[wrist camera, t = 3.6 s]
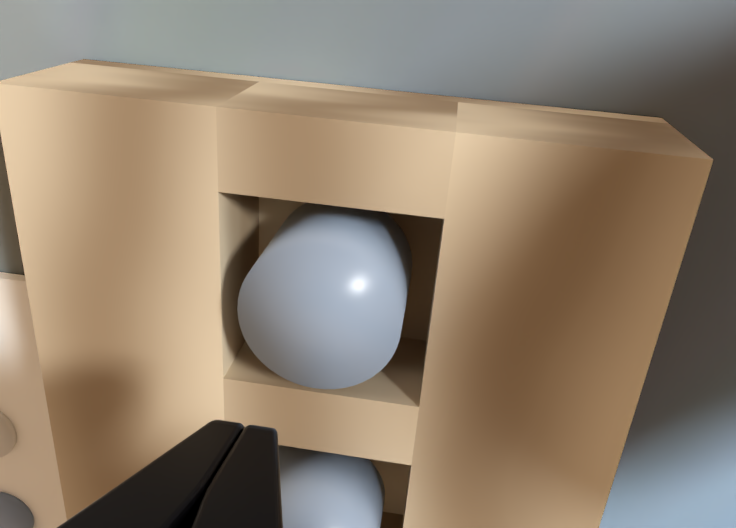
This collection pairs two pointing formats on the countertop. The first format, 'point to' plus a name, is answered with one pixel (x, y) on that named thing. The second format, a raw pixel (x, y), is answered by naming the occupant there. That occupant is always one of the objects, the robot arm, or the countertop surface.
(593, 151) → the button board
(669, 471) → the countertop surface
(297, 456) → the button middle
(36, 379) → the card
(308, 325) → the button
